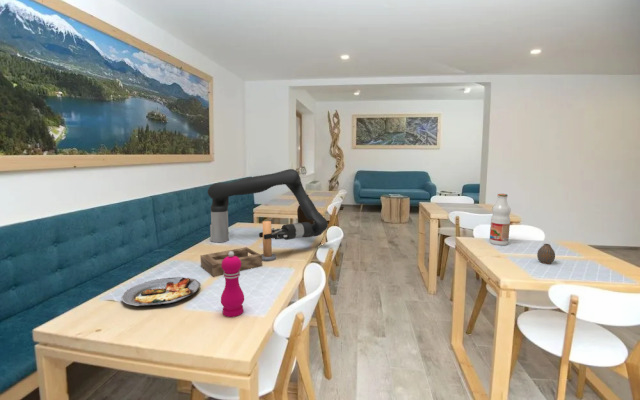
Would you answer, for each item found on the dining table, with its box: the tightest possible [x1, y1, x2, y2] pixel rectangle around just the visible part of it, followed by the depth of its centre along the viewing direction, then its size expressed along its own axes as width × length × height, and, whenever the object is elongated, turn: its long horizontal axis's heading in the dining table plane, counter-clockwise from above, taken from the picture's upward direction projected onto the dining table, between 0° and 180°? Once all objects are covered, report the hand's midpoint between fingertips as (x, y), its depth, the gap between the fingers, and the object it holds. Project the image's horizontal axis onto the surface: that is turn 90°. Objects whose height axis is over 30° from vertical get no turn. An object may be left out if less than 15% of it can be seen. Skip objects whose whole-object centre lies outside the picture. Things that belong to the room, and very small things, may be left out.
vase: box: [536, 243, 556, 265], centre depth 156 cm, size 7×7×9 cm
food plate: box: [120, 276, 201, 307], centre depth 120 cm, size 25×23×4 cm
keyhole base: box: [200, 246, 263, 278], centre depth 150 cm, size 22×16×5 cm
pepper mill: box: [220, 251, 245, 318], centre depth 106 cm, size 7×7×20 cm
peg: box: [260, 220, 277, 262], centre depth 160 cm, size 8×8×18 cm
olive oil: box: [296, 194, 315, 238], centre depth 206 cm, size 11×11×25 cm
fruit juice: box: [489, 193, 512, 246], centre depth 188 cm, size 9×9×28 cm
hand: (261, 236), depth 158 cm, fingers closed on peg, 4 cm apart
